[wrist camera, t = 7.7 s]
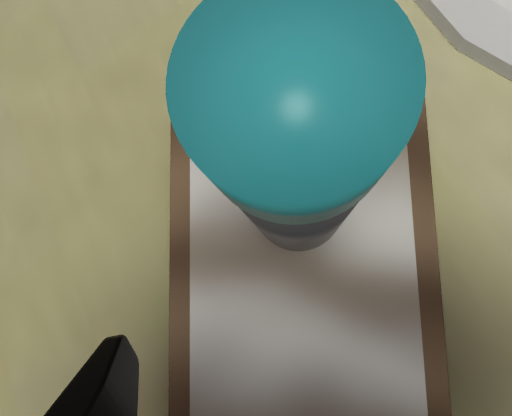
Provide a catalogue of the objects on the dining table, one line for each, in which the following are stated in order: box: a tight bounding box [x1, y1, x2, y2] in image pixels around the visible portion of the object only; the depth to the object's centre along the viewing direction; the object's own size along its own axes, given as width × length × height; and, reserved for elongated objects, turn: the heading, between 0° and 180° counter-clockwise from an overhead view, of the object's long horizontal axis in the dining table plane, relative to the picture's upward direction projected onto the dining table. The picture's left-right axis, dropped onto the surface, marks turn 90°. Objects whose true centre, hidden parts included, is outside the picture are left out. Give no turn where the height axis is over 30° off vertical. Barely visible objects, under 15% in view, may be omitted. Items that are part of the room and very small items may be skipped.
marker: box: [166, 0, 426, 251], centre depth 14 cm, size 4×4×14 cm
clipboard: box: [169, 97, 452, 416], centre depth 20 cm, size 16×12×1 cm
